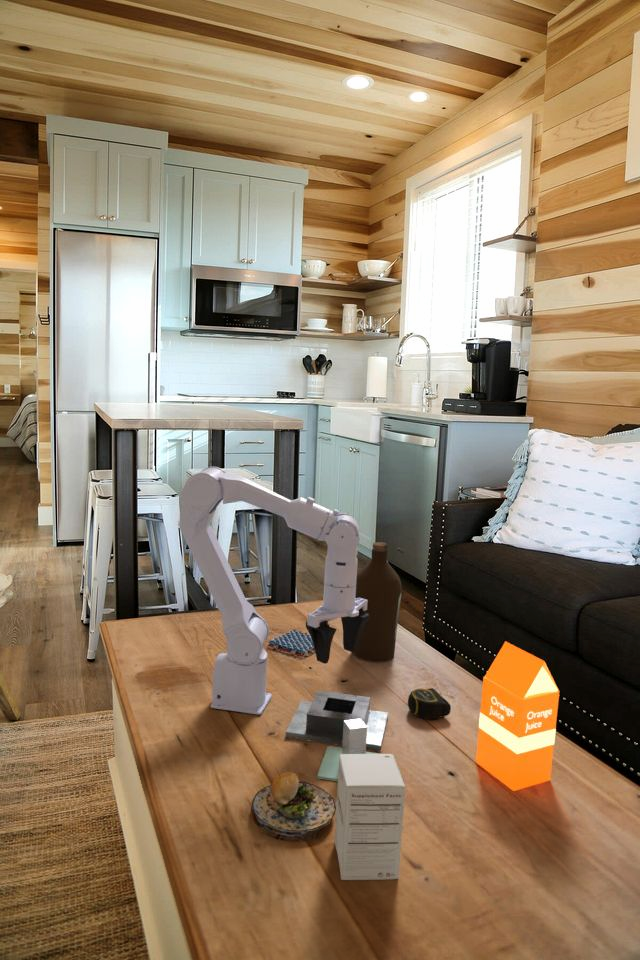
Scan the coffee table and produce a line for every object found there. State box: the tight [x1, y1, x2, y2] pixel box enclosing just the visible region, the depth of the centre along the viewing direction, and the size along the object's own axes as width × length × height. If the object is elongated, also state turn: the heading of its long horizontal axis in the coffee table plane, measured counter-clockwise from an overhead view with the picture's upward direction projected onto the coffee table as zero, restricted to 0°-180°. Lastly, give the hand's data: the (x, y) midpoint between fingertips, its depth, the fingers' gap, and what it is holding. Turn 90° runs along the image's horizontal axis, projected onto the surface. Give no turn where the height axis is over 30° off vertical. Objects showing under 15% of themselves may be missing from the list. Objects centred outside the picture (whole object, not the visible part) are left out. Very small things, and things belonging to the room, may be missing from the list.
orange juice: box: [475, 641, 560, 792], centre depth 110 cm, size 8×9×20 cm
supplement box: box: [334, 753, 406, 881], centre depth 88 cm, size 7×7×13 cm
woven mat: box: [267, 629, 315, 659], centre depth 159 cm, size 10×11×2 cm
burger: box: [250, 767, 336, 843], centre depth 98 cm, size 12×12×8 cm
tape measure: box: [407, 687, 452, 720], centre depth 130 cm, size 7×7×4 cm
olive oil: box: [351, 541, 403, 663], centre depth 155 cm, size 11×11×25 cm
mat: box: [316, 745, 379, 782], centre depth 111 cm, size 9×9×1 cm
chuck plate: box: [285, 689, 389, 752], centre depth 123 cm, size 16×12×4 cm
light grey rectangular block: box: [341, 719, 367, 754], centre depth 110 cm, size 3×3×7 cm
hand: (336, 655), depth 128 cm, fingers open, 7 cm apart
